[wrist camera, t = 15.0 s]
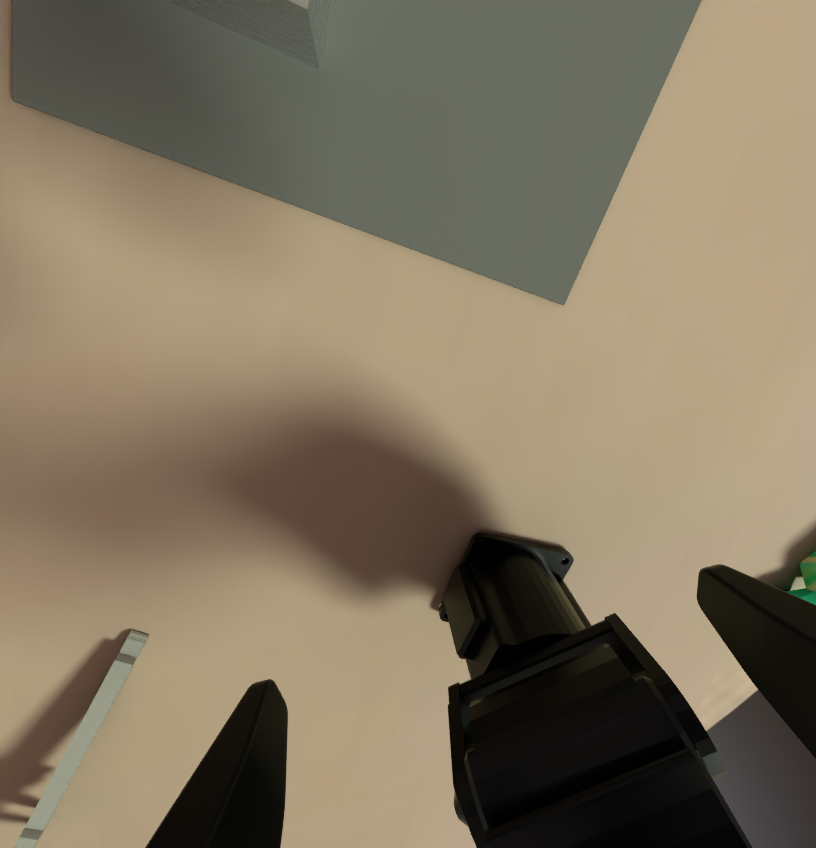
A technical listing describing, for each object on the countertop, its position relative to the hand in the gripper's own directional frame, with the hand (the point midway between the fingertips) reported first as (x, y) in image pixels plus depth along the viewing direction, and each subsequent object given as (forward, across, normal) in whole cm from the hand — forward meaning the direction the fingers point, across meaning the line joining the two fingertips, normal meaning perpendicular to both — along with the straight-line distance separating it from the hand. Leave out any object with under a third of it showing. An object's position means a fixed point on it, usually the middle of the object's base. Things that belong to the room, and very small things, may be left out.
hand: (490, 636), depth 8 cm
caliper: (+13, +25, +17) cm, 33 cm away
